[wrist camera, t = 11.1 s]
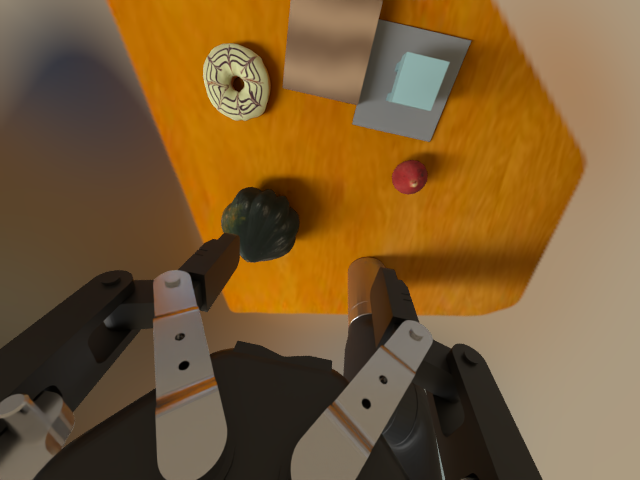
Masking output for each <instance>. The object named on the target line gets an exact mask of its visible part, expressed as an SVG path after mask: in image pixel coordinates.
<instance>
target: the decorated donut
mask: <svg viewBox="0 0 640 480" xmlns="http://www.w3.org/2000/svg"><path fill="white" fill-rule="evenodd" d="M237 77H240V78H241V79H242V80H243V81H244V84H245V85H244V88H243V89H242V90H241V92H238V91H236V90H235V89H234V87H233V82H234V79H235V78H237ZM203 78H204V83H205V86H206V90H207V94H208V97H209V99H210V101H211V103H212V104H213V105H214V107H215V108H217V110H218V111H220V112H221V113H222V114H224V115H225V116H228V117H230V118H231V119H233V120H236V121H238V120H244V121H247V120H249V119H250V118H254V117H258V116H260V115H262V114H263V113H264V111H265V109H266V104H267V102H268V99H269V96H270V90H271V82H270V77H269V74H268V71H267V69H266V67H265V65H264V64H263V62H262V59H261V57H260V56H258V55H257V54H255V53H254V52H253V51H252V50H250V49H248V48H246V47H243V46H240V45H238V44H233V43H230V44H221V45H219V46H217V47H215V48H213V49H212V50H211V52H210V54H209V55H208V56H207V58H206V61H205V63H204V67H203Z"/></svg>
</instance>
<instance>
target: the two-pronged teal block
mask: <svg viewBox="0 0 640 480" xmlns="http://www.w3.org/2000/svg"><path fill="white" fill-rule="evenodd" d="M449 63H450V62H448V61H444V60H439V59H435V58H431V57H427V56H423V55H419V54H414V53H410V52H406V53H405V54H404V55H403V56H402V59H401V61H400V62H398V63H397V65H396V68H395V72H397V75H396V79H395V82H394V85H393V88H392V92H391V93H388V95H387V98H386V101H389V102H391V103H395V104H400V105H404V106H408V107H412V108H417V109H421V110H426V111H431V109H432V106H433V104H434V101H435V99H436V96H437V93H438V91H439V88H440V86H441V83H442V81H443V78H444V76H445V73H446V71H447V68H448V65H449Z"/></svg>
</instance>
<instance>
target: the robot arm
mask: <svg viewBox="0 0 640 480" xmlns="http://www.w3.org/2000/svg"><path fill="white" fill-rule="evenodd" d="M239 258H240V236H239V235H235V234H230V233H226V232H225V233H224V234H223V235H222V236H221V237H220V238H219V239H218V240H216V239H212V240H210V241H208V242H206V243H204V244H203V245H202V246H201V247H200V249H199V250H197V251H196V252H195V254H193V255H192V256H191V257H190V258H189V259H188V260H187V261H186V262H185V263H184V264H183V265H182V266H181V267H180V268H179V269H178V270H174V271H168V272H165V273H163V274H161V275H159V276H158V277H157V278H156V279H155V280H133V277H132V274H131V273H129V272H127V271H122V270H115V271H109V272H105V273H103V274H100V275H98V276H96V277H95V278H93V279H92V280H91V281H89V282H88V283H87V284H85V285H84V286H83V287H81V288H80V289H79V290H77V291H76V292H75V293H74V294H72V295H71V296H70V297H68V298H67V299H66V300H64V301H63V302H62V303H60V304H59V305H58V306H56V307H55V308H54V309H52V310H51V311H50V312H49V313H47V314H46V315H44V316H43V317H42V318H41V319H39V320H38V321H37V322H35V323H34V324H33V325H31V326H30V327H29V328H27V329H26V330H25V331H24V332H22V333H21V334H19V335H18V336H17V337H15V338H14V339H13V340H12V341H10V342H9V343H8V344H6V345H5V346H4V347H2V348H1V349H0V480H442V475H441V469H440V462H439V455H438V449H437V444H438V448H439V453H440V457H441V462H442V467H443V471H444V476H445V480H542V477H541V475H540V473H539V471H538V469H537V467H536V465H535V463H534V461H533V459H532V457H531V455H530V453H529V450H528V449H527V446H526V444H525V442H524V440H523V438H522V436H521V434H520V432H519V430H518V428H517V426H516V424H515V421H514V419H513V417H512V415H511V413H510V411H509V409H508V407H507V405H506V403H505V401H504V399H503V397H502V394H501V392H500V390H499V388H498V386H497V384H496V382H495V380H494V378H493V376H492V374H491V372H490V370H489V368H488V365H487V363H486V362H485V360H484V358H483V357H482V356H481V355H480V354H479V353H478V352H477V351H476V350H474V349H473V348H471V347H469V346H467V345H465V344H455V345H454V346H453V347H452V349H451V348H449V347H447V346H444V345H443V344H441V343H439V342H437V341H435V340H433V338H432V335H431V333H430V332H429V330H428V329H426V327H425V326H423V325H422V324H420V323H419V320H418V317H417V314H416V311H415V308H414V305H413V302H412V299H411V296H410V293H409V290H408V287H407V286H406V285H405V284H404V282H403V281H402V280H398V279H397V276H396V273H395V270H394V269H389V268H385V266H384V264H383V263H382V262H381V261H379V260H377V259H375V258H370V257H364V258H360V259H358V260H356V261H354V262H353V263H352V264H351V265H350V267H349V269H348V339H347V343H346V348H345V358H344V359H345V360H344V375H343V376H342V375H341V374H339V373H338V372H337V371H335V370H333V369H332V361H331V360H326V359H322V358H317V357H312V356H292V357H284V356H281V355H279V354H277V353H275V352H273V351H271V350H269V349H267V348H265V347H263V346H260V345H255V344H250V343H246V342H241V341H237V343H236V345H235V348H230V349H224V350H220V351H217V352H214V353H212V354H210V355H209V351H208V346H207V342H206V338H205V333H204V329H203V324H202V320H201V315H200V311H199V310H201V311H205V312H208V310H209V309H210V307H211V306H212V304H213V303H214V301H215V300H216V298H217V296H218V295H219V294H220V292H221V291H222V289H223V288H224V286H225V285H226V283H227V282H228V280H229V279H230V277H231V276H232V274H233V273H234V271H235V270H236V268H237V266H238V263H239ZM148 328H153V331H154V332H153V334H154V356H155V378H156V388H155V389H153V390H152V391H150V392H149V393H147V394H145V395H144V396H142V397H141V398H139V399H138V400H136V401H134V402H133V403H131V404H130V405H128V406H126V407H125V408H123V409H122V410H120V411H118V412H117V413H115V414H114V415H112V416H111V417H109V418H107V419H106V420H105V421H103V422H101V423H100V424H98V425H96V426H95V427H93V428H92V429H90V430H88V431H87V432H85V433H84V434H82V435H81V436H79V437H78V438H76V439H75V440H73V441H72V442H70V443H69V444H68V445H66V446H65V447H64V448H63V449H62V447H63V446H64V444H65V441H66V439H67V438H68V436H69V434H70V433H71V431H72V429H73V427H74V423H75V416H74V414H73V411H74V410H75V409H76V408H77V407H78V406H79V404H80V403H81V402H82V401H83V400H84V398H85V397H86V396H87V395H88V393H89V392H90V391H91V390H92V389H93V387H94V386H95V385H96V384H97V382H98V381H99V380H100V379H101V378H102V376H103V375H104V374H105V373H106V371H107V370H108V369H109V368H110V367H111V365H112V364H113V363H114V362H115V360H116V359H117V358H118V357H119V356H120V354H121V353H122V352H123V351H124V350H125V348H126V347H127V346H128V344H129V343H130V342H131V341H132V340H133V338H134V337H135V336H136V335H137V334H138V332H139V331H140V330H141V329H148ZM424 389H425V390H426V392H425V390H424ZM426 394H427V395H426ZM435 435H436V436H435ZM436 439H437V442H436Z"/></svg>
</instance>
